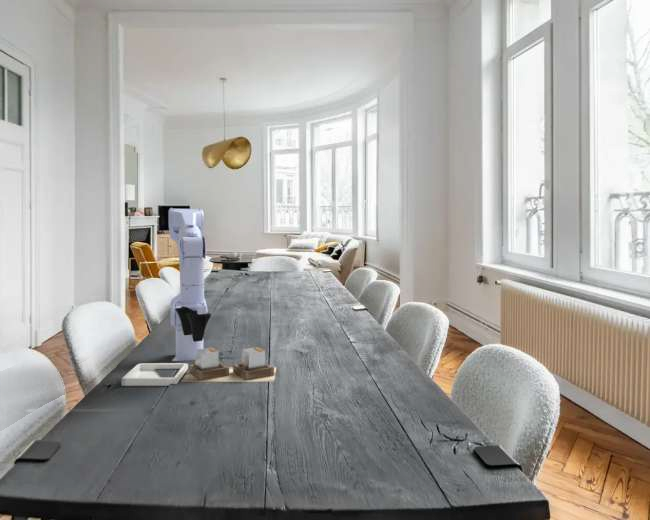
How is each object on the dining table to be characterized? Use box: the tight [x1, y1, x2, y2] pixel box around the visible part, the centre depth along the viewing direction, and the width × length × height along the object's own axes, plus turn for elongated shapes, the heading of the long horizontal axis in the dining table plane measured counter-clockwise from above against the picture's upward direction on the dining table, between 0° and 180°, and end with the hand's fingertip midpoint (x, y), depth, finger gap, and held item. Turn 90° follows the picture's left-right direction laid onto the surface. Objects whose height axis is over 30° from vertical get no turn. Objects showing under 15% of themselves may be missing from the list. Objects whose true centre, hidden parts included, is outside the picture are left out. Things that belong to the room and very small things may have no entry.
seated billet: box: [241, 346, 266, 371], centre depth 124 cm, size 4×4×6 cm
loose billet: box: [194, 347, 220, 371], centre depth 123 cm, size 4×4×6 cm
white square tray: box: [120, 362, 189, 387], centre depth 122 cm, size 13×13×2 cm
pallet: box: [180, 360, 277, 383], centre depth 124 cm, size 12×22×3 cm, turn 93°
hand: (192, 337), depth 126 cm, fingers open, 7 cm apart
